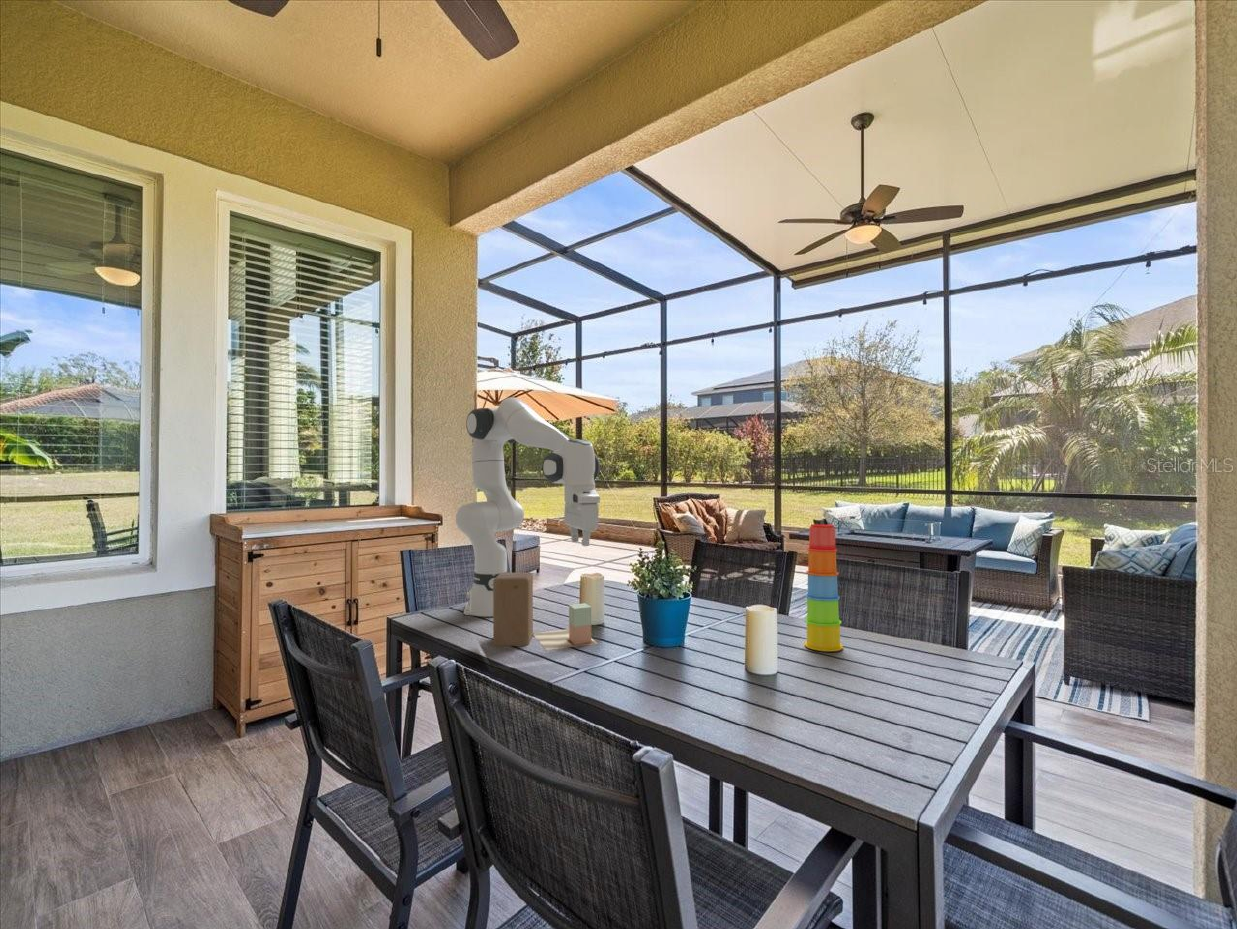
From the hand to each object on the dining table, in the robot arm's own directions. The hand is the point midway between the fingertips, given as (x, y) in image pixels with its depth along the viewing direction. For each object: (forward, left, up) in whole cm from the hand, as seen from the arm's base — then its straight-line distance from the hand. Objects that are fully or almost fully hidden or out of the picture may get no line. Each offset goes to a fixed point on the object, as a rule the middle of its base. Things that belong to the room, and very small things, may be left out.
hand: (580, 543), depth 167 cm
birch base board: (-5, -4, -29) cm, 30 cm away
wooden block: (-8, -18, -29) cm, 35 cm away
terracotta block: (0, 0, -28) cm, 28 cm away
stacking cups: (+28, +63, -29) cm, 75 cm away
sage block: (0, 0, -23) cm, 23 cm away
